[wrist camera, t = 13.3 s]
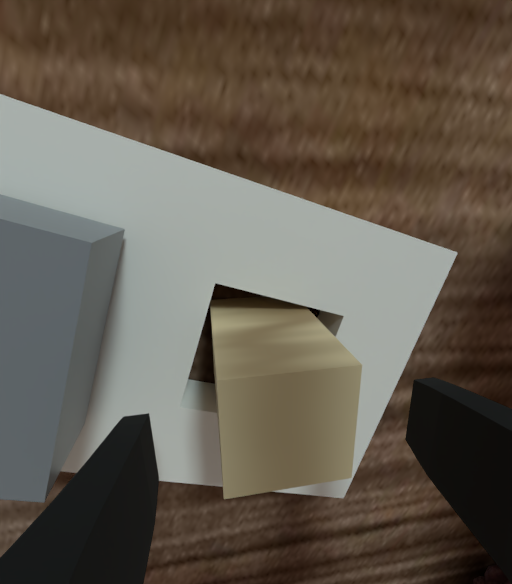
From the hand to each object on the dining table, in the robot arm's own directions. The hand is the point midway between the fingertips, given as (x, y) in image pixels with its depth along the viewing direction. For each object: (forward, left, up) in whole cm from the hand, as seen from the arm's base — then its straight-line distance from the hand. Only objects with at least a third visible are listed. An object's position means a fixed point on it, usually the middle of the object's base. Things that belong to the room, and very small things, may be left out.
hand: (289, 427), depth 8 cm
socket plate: (+3, 0, -6) cm, 6 cm away
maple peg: (0, 0, -6) cm, 6 cm away
